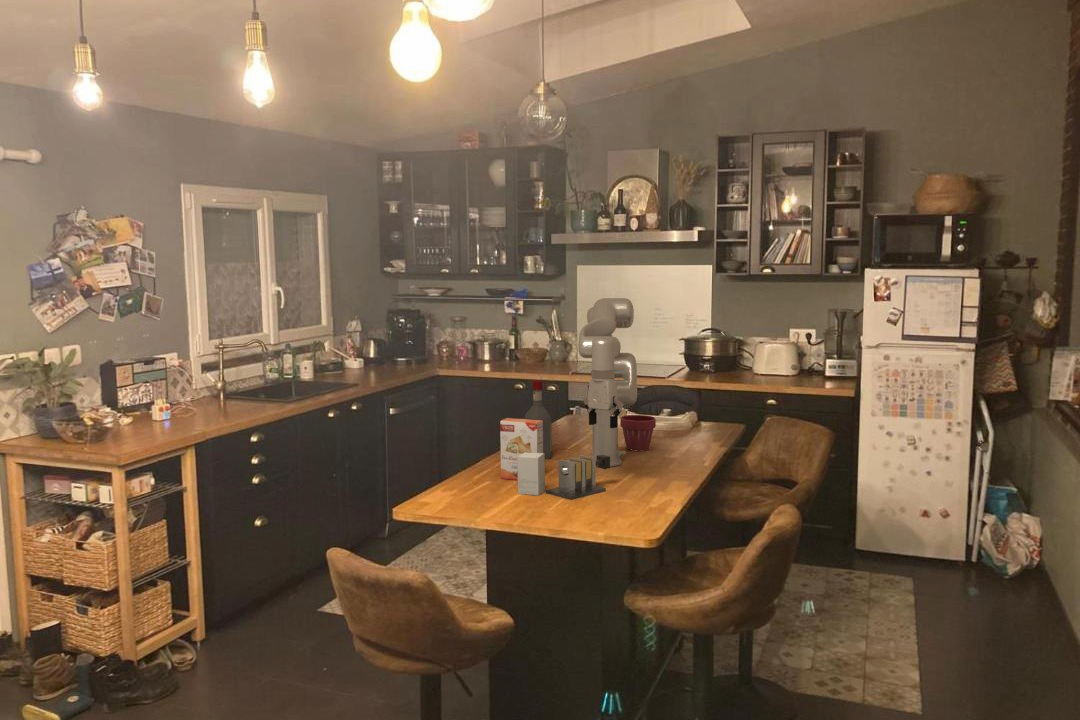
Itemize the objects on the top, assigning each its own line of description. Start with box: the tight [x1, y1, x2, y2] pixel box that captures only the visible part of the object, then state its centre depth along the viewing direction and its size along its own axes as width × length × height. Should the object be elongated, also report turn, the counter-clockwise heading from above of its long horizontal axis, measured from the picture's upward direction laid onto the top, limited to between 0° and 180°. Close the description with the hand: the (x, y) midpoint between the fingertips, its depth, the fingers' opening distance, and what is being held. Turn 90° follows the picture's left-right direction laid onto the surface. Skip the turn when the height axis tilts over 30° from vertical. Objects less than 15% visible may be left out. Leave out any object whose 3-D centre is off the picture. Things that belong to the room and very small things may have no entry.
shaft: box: [560, 455, 611, 474], centre depth 295 cm, size 20×4×4 cm, turn 133°
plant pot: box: [619, 414, 657, 451], centre depth 360 cm, size 14×14×13 cm
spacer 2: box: [578, 457, 591, 479], centre depth 294 cm, size 2×6×6 cm, turn 43°
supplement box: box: [517, 452, 546, 496], centre depth 292 cm, size 7×7×13 cm
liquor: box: [523, 379, 553, 460], centre depth 343 cm, size 9×9×30 cm
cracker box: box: [499, 417, 543, 481], centre depth 310 cm, size 14×6×21 cm, turn 68°
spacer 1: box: [566, 459, 581, 482], centre depth 291 cm, size 2×6×6 cm, turn 43°
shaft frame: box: [544, 454, 607, 501], centre depth 292 cm, size 16×12×11 cm
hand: (603, 426), depth 299 cm, fingers open, 9 cm apart
